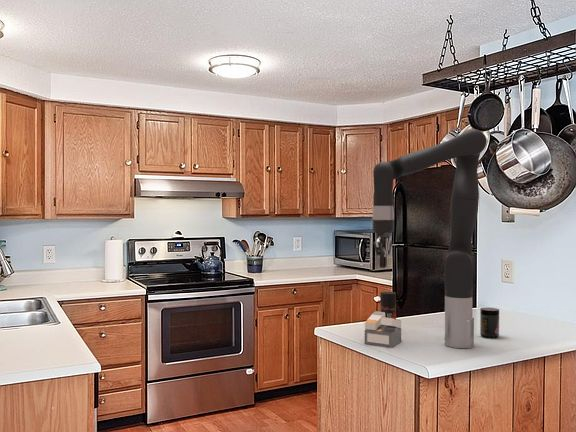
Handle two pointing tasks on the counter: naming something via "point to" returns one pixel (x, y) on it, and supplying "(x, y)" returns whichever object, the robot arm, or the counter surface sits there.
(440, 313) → the counter surface
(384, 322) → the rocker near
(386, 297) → the deodorant
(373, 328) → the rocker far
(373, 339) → the grey box
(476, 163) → the robot arm
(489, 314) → the supplement container
